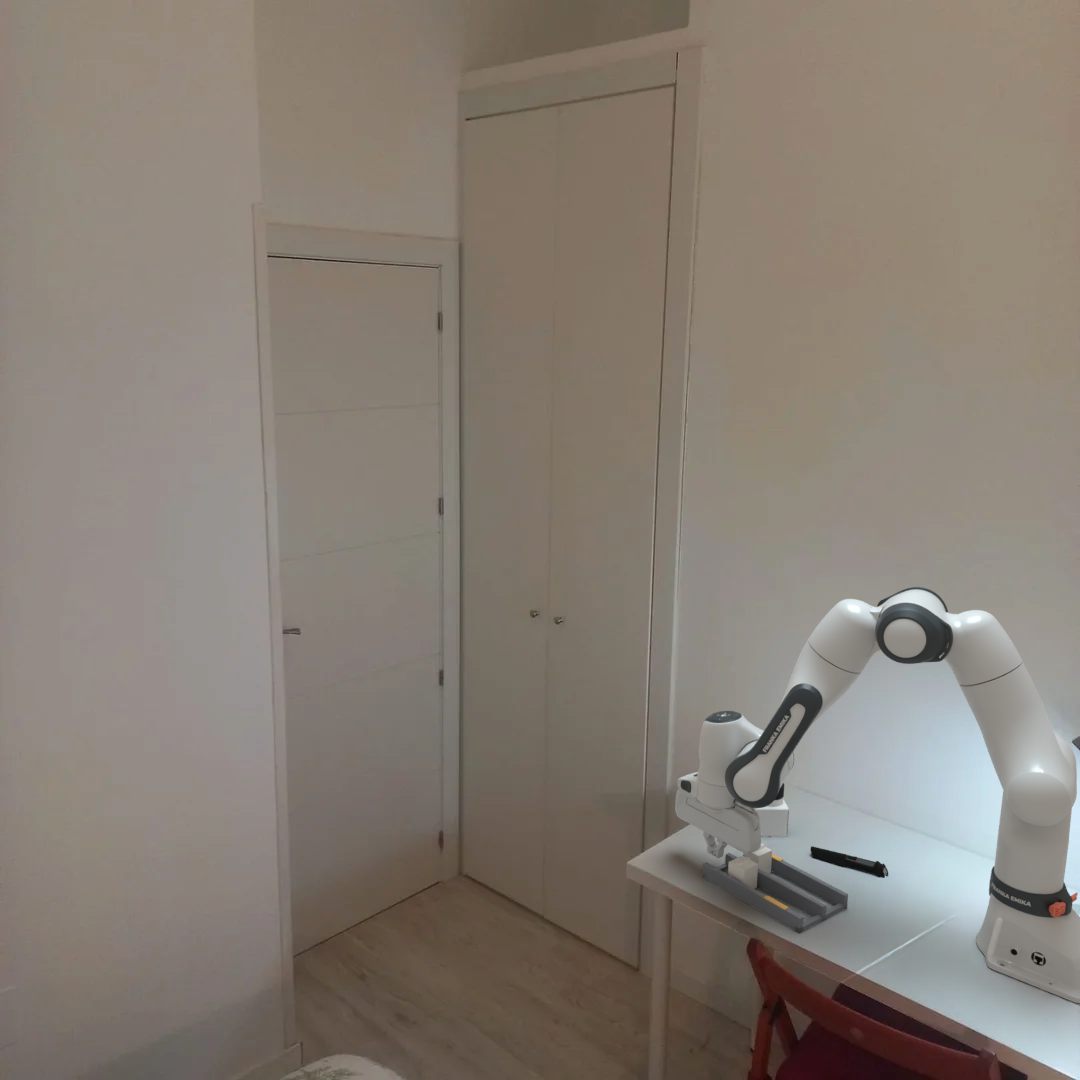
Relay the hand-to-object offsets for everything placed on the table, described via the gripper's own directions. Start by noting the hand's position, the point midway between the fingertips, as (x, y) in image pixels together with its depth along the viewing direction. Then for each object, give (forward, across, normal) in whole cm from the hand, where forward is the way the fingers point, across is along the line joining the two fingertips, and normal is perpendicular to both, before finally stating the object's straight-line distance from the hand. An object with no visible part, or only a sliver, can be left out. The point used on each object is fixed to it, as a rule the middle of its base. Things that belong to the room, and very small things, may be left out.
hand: (715, 854), depth 206 cm
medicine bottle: (+4, +6, -23) cm, 24 cm away
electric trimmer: (+5, -15, -24) cm, 29 cm away
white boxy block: (+4, -7, 0) cm, 8 cm away
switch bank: (+4, -12, -3) cm, 13 cm away
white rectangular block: (+4, -5, -7) cm, 9 cm away
